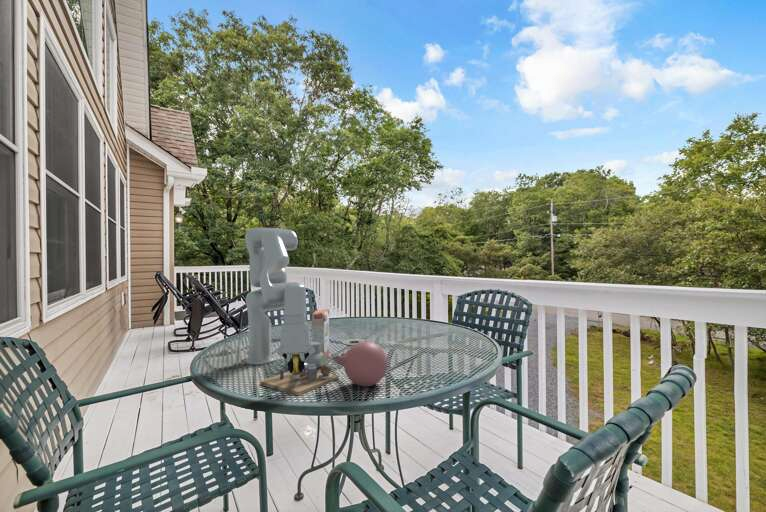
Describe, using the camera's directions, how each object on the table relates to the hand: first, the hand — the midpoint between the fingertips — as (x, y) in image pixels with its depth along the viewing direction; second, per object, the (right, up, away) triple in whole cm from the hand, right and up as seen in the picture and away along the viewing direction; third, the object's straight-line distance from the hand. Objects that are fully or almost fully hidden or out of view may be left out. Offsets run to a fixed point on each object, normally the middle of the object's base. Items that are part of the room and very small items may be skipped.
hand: (296, 371), depth 131 cm
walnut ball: (+9, -4, +8) cm, 13 cm away
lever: (0, -3, +6) cm, 7 cm away
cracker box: (+2, -6, +42) cm, 42 cm away
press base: (0, -6, +7) cm, 9 cm away
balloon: (+22, -6, +2) cm, 23 cm away
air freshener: (+1, -6, +25) cm, 26 cm away
